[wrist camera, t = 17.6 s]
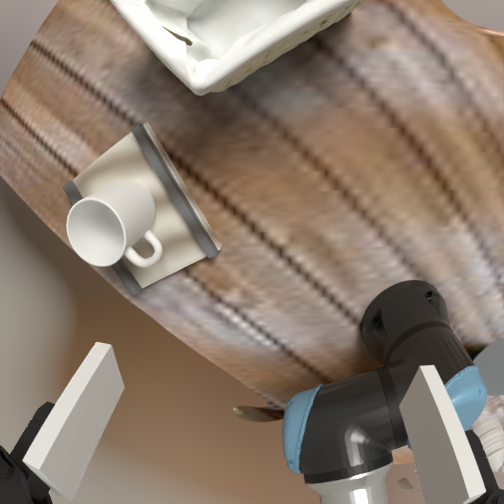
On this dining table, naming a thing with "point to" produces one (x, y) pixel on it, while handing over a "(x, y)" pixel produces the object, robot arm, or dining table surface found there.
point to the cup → (114, 225)
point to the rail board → (166, 203)
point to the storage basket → (226, 34)
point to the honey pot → (492, 443)
